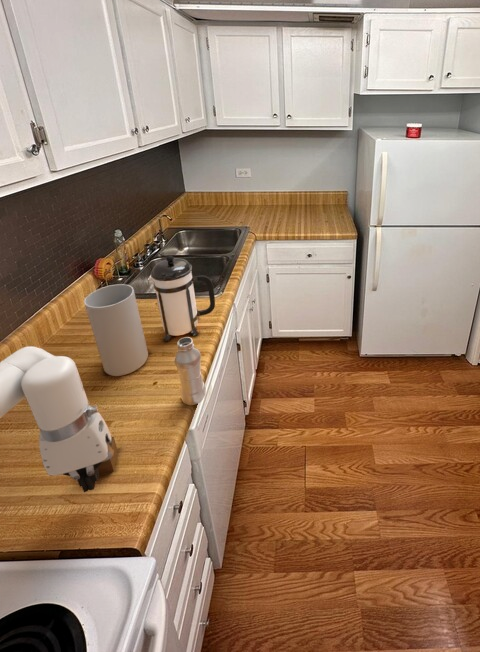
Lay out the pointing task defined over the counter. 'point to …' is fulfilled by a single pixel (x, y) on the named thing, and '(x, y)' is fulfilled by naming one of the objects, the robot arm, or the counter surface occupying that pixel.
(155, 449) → the counter surface
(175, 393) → the counter surface
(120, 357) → the cylinder vase
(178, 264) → the coffee press
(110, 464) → the walnut block
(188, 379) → the plastic bottle
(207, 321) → the counter surface
